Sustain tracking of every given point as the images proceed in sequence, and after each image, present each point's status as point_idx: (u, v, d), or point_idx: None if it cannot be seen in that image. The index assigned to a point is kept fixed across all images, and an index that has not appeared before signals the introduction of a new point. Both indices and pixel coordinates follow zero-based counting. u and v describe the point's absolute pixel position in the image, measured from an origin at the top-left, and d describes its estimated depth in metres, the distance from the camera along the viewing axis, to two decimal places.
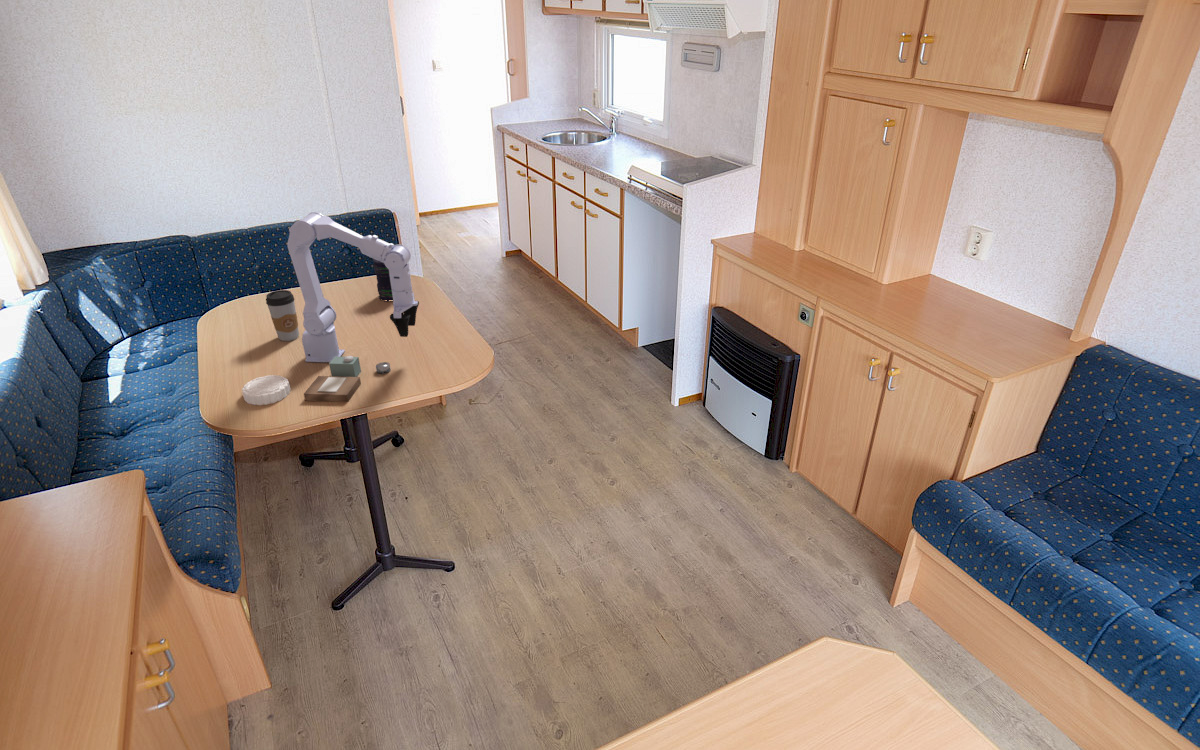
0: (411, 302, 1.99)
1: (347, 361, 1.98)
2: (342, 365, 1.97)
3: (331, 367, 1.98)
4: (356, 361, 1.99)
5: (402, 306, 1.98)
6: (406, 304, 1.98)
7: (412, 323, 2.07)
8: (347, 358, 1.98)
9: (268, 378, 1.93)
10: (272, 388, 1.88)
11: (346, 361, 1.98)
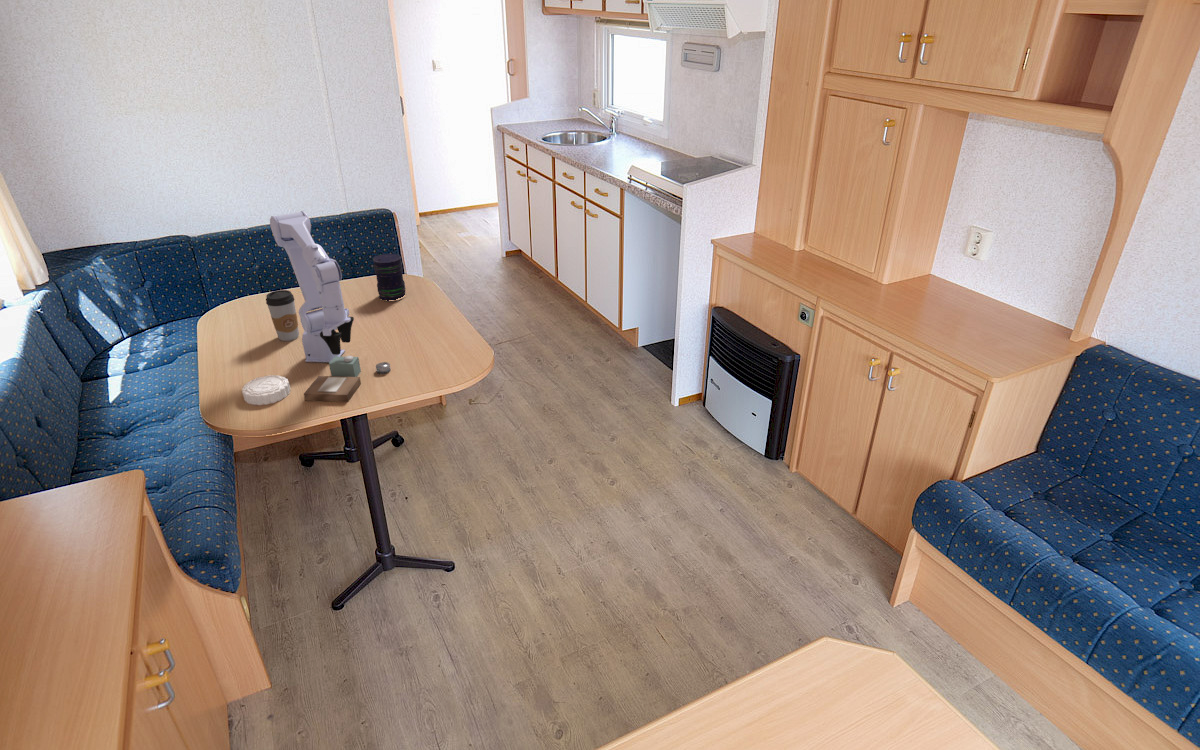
0: (343, 319, 1.91)
1: (347, 361, 1.98)
2: (342, 365, 1.97)
3: (331, 367, 1.98)
4: (356, 361, 1.99)
5: (333, 323, 1.90)
6: (337, 321, 1.90)
7: (347, 340, 2.00)
8: (347, 358, 1.98)
9: (268, 378, 1.93)
10: (272, 388, 1.88)
11: (346, 361, 1.98)
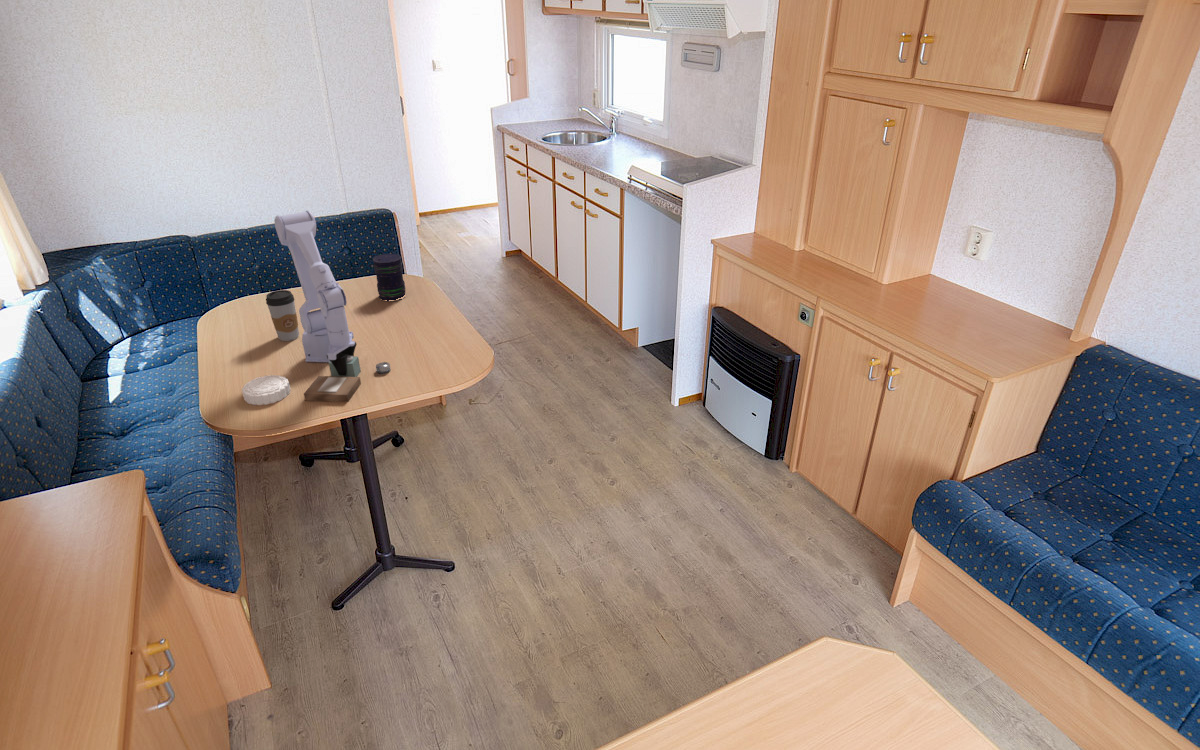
0: (347, 342, 1.95)
1: (347, 361, 1.97)
2: None
3: (331, 367, 1.98)
4: (356, 361, 1.99)
5: (338, 347, 1.94)
6: (342, 345, 1.94)
7: None
8: (347, 358, 1.98)
9: (268, 378, 1.93)
10: (272, 388, 1.88)
11: None
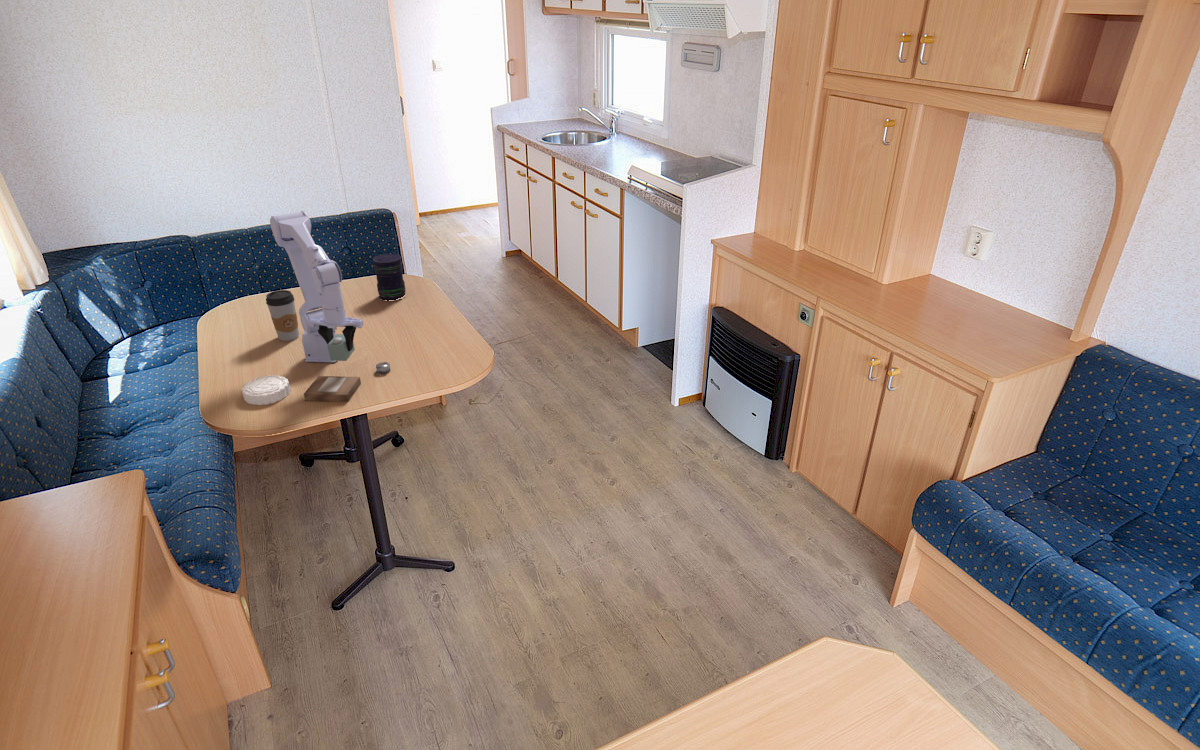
0: (328, 322, 1.90)
1: None
2: None
3: None
4: (337, 346, 1.93)
5: (324, 320, 1.92)
6: (325, 321, 1.91)
7: None
8: (336, 339, 1.94)
9: (268, 378, 1.93)
10: (272, 388, 1.88)
11: None
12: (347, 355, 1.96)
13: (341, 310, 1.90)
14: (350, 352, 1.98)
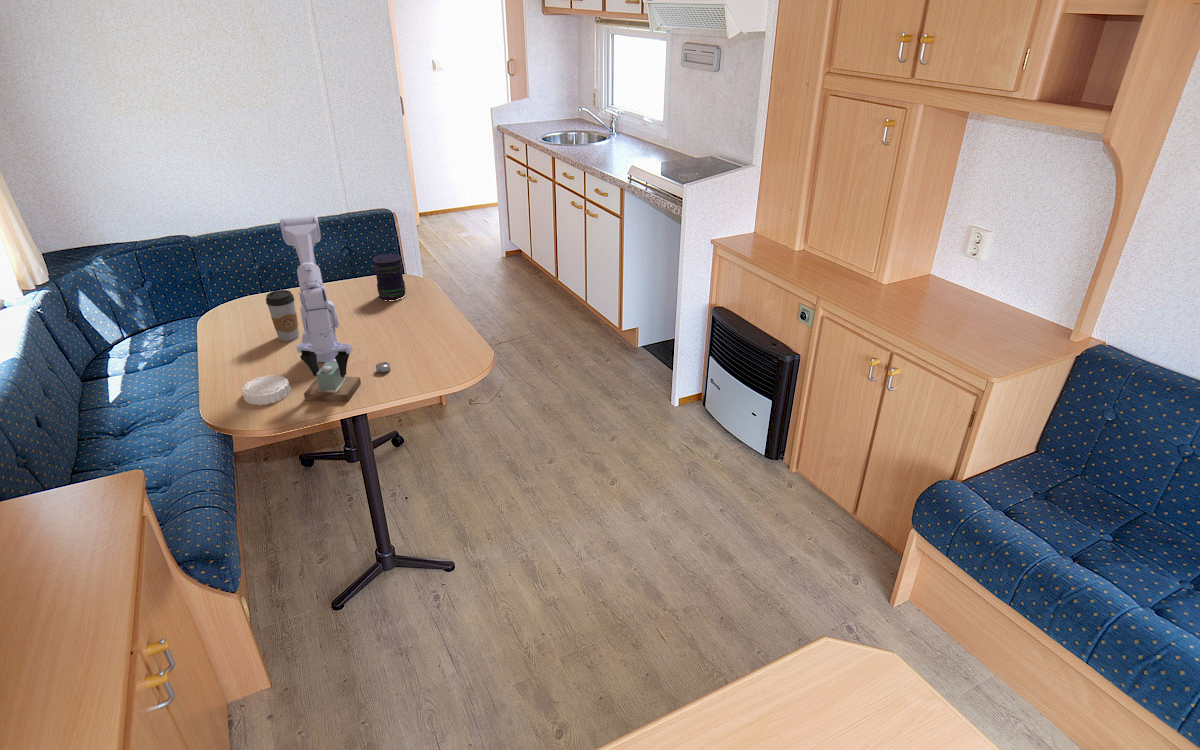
0: (315, 348, 1.83)
1: None
2: None
3: None
4: (326, 375, 1.86)
5: (312, 346, 1.85)
6: (312, 346, 1.84)
7: None
8: (325, 367, 1.88)
9: (268, 378, 1.93)
10: (272, 388, 1.88)
11: None
12: (337, 384, 1.89)
13: (329, 336, 1.83)
14: (340, 380, 1.91)
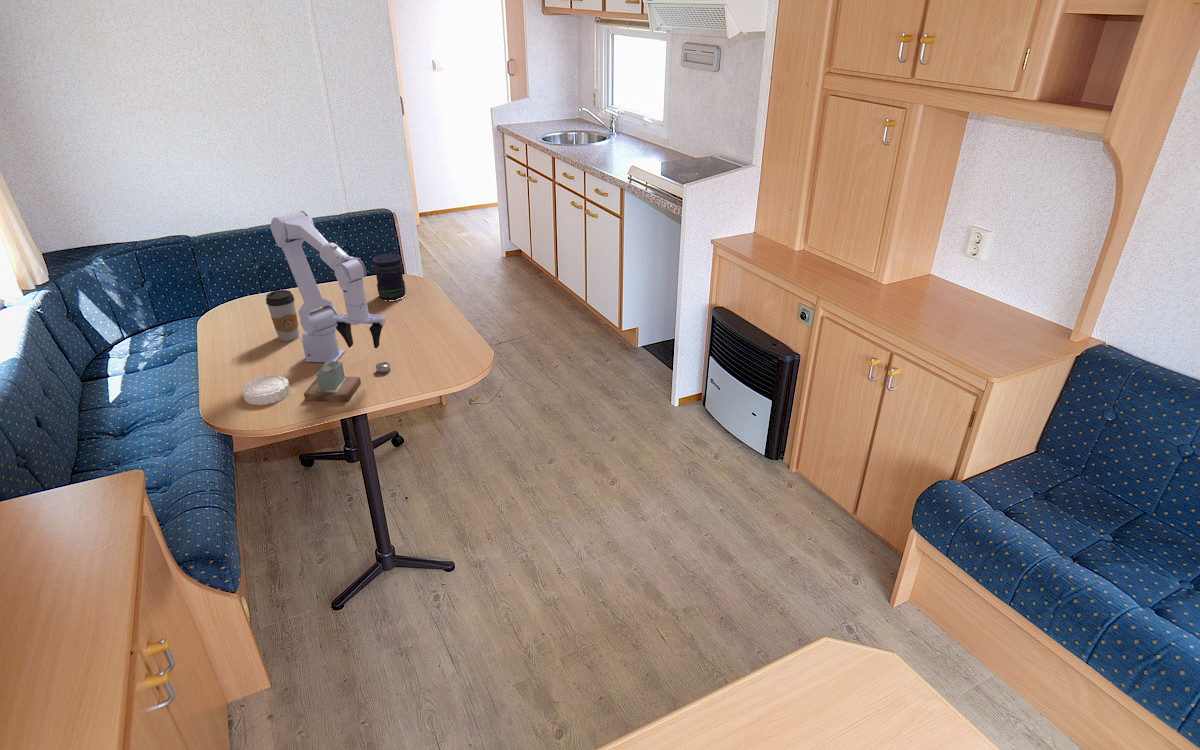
0: (351, 319, 1.90)
1: None
2: None
3: None
4: (326, 375, 1.86)
5: (347, 317, 1.92)
6: (347, 317, 1.91)
7: None
8: (325, 367, 1.88)
9: (268, 378, 1.93)
10: (272, 388, 1.88)
11: None
12: (337, 384, 1.89)
13: (364, 307, 1.90)
14: (340, 380, 1.91)
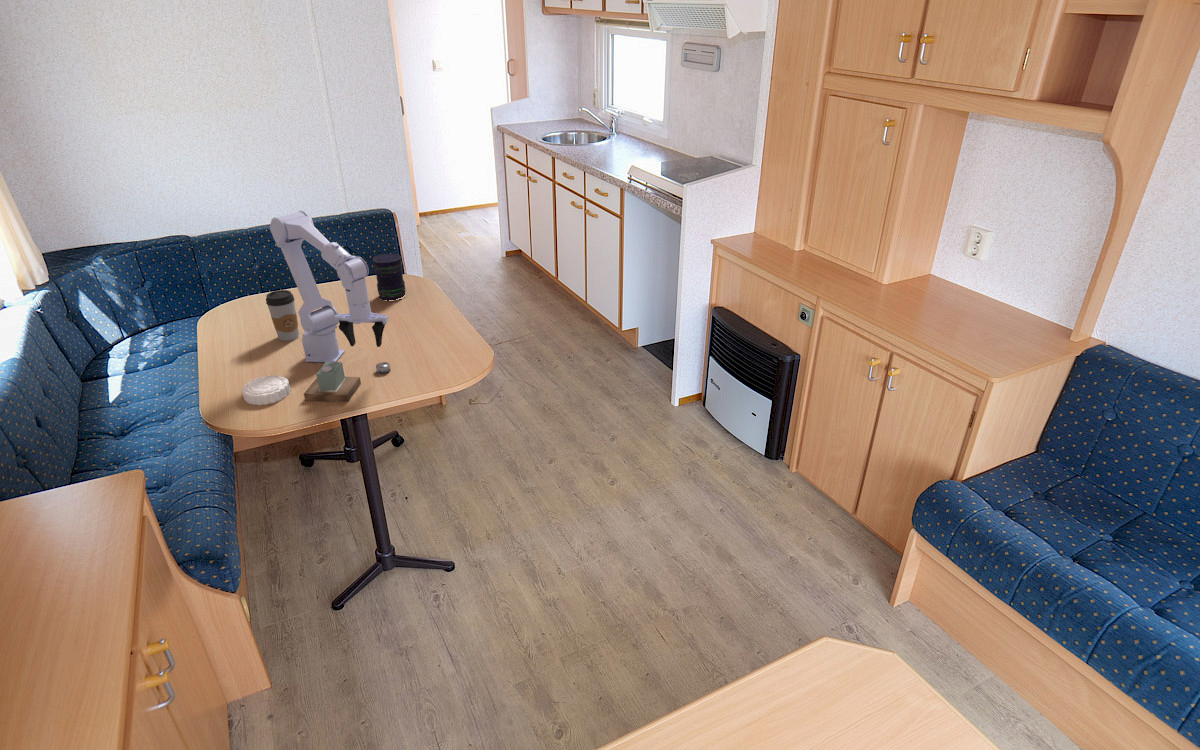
0: (353, 318, 1.90)
1: None
2: None
3: None
4: (326, 375, 1.86)
5: (350, 316, 1.93)
6: (350, 316, 1.91)
7: None
8: (325, 367, 1.88)
9: (268, 378, 1.93)
10: (272, 388, 1.88)
11: None
12: (337, 384, 1.89)
13: (367, 306, 1.90)
14: (340, 380, 1.91)
